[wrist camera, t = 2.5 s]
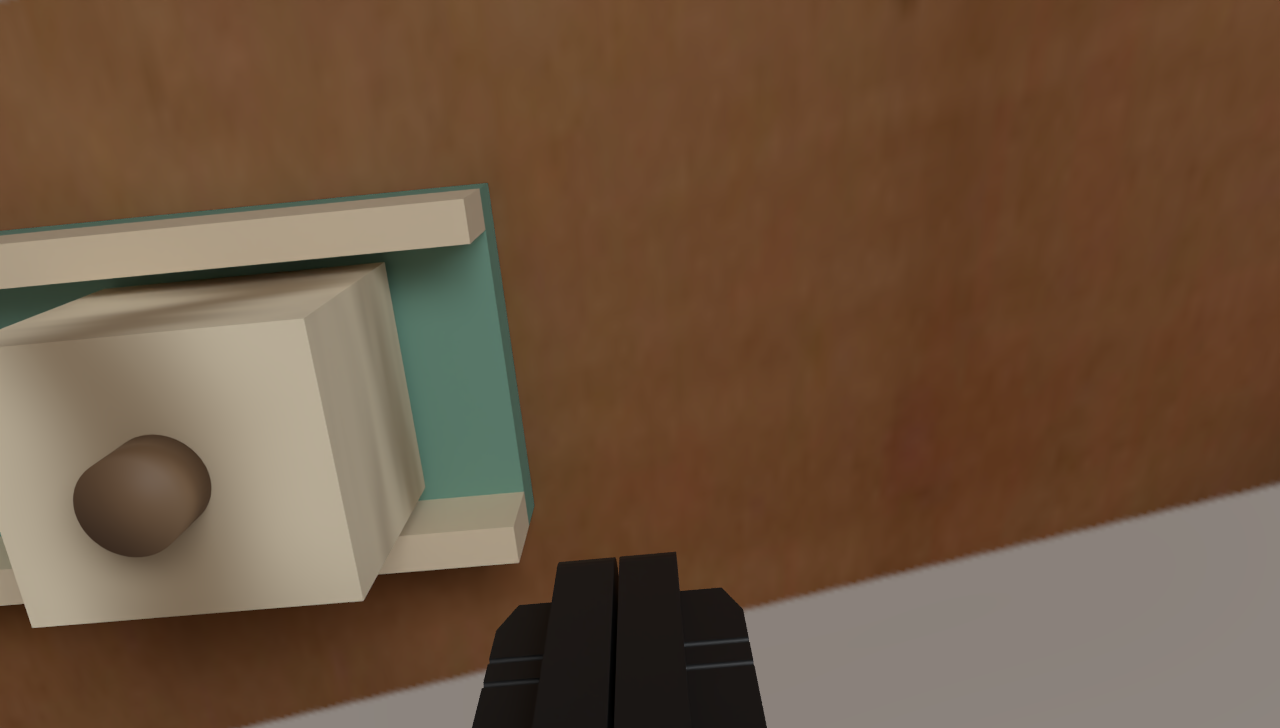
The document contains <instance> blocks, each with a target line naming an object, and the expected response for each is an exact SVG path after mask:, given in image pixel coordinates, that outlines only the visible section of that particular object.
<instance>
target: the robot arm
mask: <svg viewBox="0 0 1280 728" xmlns="http://www.w3.org/2000/svg"><path fill="white" fill-rule="evenodd" d="M489 661H490V664H488V666H487V670H486V674H485V678H484V688H482V691H481V694H480V698H479V702H478V706H477V710H476V714H475V718H474V722H473V726H472V728H767V726H766V721H765V716H764V711H763V706H762V701H761V696H760V691H759V686H758V681H757V676H756V671H755V666H754V664H753V657H752V652H751V647H750V642H749V638H748V632H747V627H746V622H745V617H744V612H743V609H742V608H741V607H740V606H739V605H738V604H737V603H736V602H735V601H734V600H733V599H732V598H731V597H730V596H729V595H728V594H727V593H726V592H725V591H724V590H723V589H722V588H711V589H699V590H688V591H680V589H679V578H678V567H677V557H676V552H668V553H657V554H645V555H634V556H622V557H620V560H619V574H618V567H617V561H616V558H615V557H613V558H602V559H590V560H579V561H567V562H559V563H558V566H557V572H556V578H555V585H554V591H553V597H552V602H551V603H540V604H528V605H519V606H518V607H517V608H516V609H515V610H514V611H513V613H512V614H511V615H510V616H509V617H508V618H507V619H506V620H505V622H504V623H503V624H502V625H501V626H500V627H499V628H498V629H497V631H496V634H495V638H494V642H493V646H492V650H491V654H490V658H489Z"/></svg>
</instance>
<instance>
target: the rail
mask: <svg viewBox="0 0 1280 728" xmlns="http://www.w3.org/2000/svg"><path fill="white" fill-rule="evenodd" d="M379 262H385V267H386V272H387V278H388V284H389V289H390V295H391V300H392V306H393V311H394V317H395V322H396V328H397V333H398V339H399V344H400V350H401V355H402V361H403V366H404V372H405V377H406V383H407V388H408V394H409V399H410V405H411V410H412V416H413V421H414V427H415V432H416V438H417V443H418V449H419V454H420V460H421V465H422V471H423V476H424V482H425V489H424V491H423V493H422V495H421V496H420V498H419V500H418V502H417V504H416V506H415V507H414V509H413V511H412V513H411V515H410V517H409V518H408V520H407V522H406V524H405V526H404V528H403V529H402V531H401V533H400V535H399V537H398V539H397V540H396V542H395V544H394V546H393V548H392V550H391V551H390V553H389V555H388V557H387V559H386V561H385V562H384V564H383V566H382V568H381V570H380V572H379V573H378V574H390V573H402V572H414V571H426V570H438V569H451V568H463V567H475V566H487V565H499V564H511V563H519V561H520V557H521V554H522V550H523V546H524V543H525V539H526V535H527V531H528V528H529V524H530V520H531V516H532V513H533V509H534V500H533V493H532V486H531V479H530V472H529V465H528V458H527V451H526V445H525V438H524V431H523V424H522V417H521V410H520V403H519V396H518V389H517V382H516V375H515V368H514V361H513V355H512V348H511V341H510V334H509V327H508V320H507V313H506V306H505V299H504V292H503V285H502V278H501V271H500V265H499V258H498V251H497V244H496V237H495V230H494V223H493V216H492V209H491V202H490V195H489V188H488V183H482V184H472V185H462V186H452V187H441V188H431V189H421V190H411V191H401V192H391V193H381V194H370V195H360V196H350V197H340V198H330V199H320V200H310V201H299V202H289V203H279V204H269V205H259V206H249V207H239V208H228V209H218V210H208V211H198V212H188V213H178V214H168V215H157V216H147V217H137V218H127V219H117V220H107V221H97V222H86V223H76V224H66V225H56V226H46V227H36V228H26V229H15V230H5V231H0V329H2V328H5V327H7V326H10V325H12V324H15V323H17V322H20V321H23V320H25V319H28V318H30V317H33V316H35V315H38V314H41V313H43V312H46V311H48V310H51V309H53V308H56V307H59V306H61V305H64V304H66V303H69V302H71V301H74V300H77V299H79V298H82V297H84V296H87V295H90V294H92V293H95V292H97V291H100V290H102V289H108V288H118V287H129V286H139V285H150V284H160V283H171V282H181V281H191V280H202V279H212V278H223V277H233V276H244V275H254V274H265V273H275V272H285V271H296V270H306V269H317V268H327V267H338V266H348V265H359V264H369V263H379ZM16 604H24V602H23V599H22V596H21V593H20V590H19V587H18V584H17V581H16V578H15V575H14V572H13V569H12V566H11V563H10V560H9V557H8V554H7V551H6V548H5V545H4V542H3V539H2V536H1V533H0V606H4V605H16Z"/></svg>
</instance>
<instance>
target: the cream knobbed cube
mask: <svg viewBox="0 0 1280 728" xmlns="http://www.w3.org/2000/svg"><path fill="white" fill-rule="evenodd" d="M424 489H425V482H424V476H423V471H422V465H421V460H420V454H419V449H418V443H417V438H416V432H415V427H414V421H413V416H412V410H411V405H410V399H409V394H408V388H407V383H406V377H405V372H404V366H403V361H402V355H401V350H400V344H399V339H398V333H397V328H396V322H395V317H394V311H393V306H392V300H391V295H390V289H389V284H388V278H387V272H386V267H385V262H379V263H369V264H359V265H348V266H338V267H327V268H317V269H306V270H296V271H285V272H275V273H265V274H254V275H244V276H233V277H223V278H212V279H202V280H191V281H181V282H171V283H160V284H150V285H139V286H129V287H118V288H108V289H102V290H100V291H97V292H95V293H92V294H90V295H87V296H84V297H82V298H79V299H77V300H74V301H71V302H69V303H66V304H64V305H61V306H59V307H56V308H53V309H51V310H48V311H46V312H43V313H41V314H38V315H35V316H33V317H30V318H28V319H25V320H23V321H20V322H17V323H15V324H12V325H10V326H7V327H5V328H2V329H0V533H1V536H2V539H3V542H4V545H5V548H6V551H7V554H8V557H9V560H10V563H11V566H12V569H13V572H14V575H15V578H16V581H17V584H18V587H19V590H20V593H21V596H22V599H23V602H24V605H25V608H26V611H27V614H28V617H29V620H30V623H31V626H32V628H38V627H50V626H62V625H75V624H87V623H99V622H111V621H124V620H136V619H148V618H160V617H172V616H185V615H197V614H209V613H221V612H234V611H246V610H258V609H270V608H282V607H295V606H307V605H319V604H331V603H344V602H356V601H364V599H365V597H366V595H367V594H368V592H369V590H370V588H371V586H372V584H373V583H374V581H375V579H376V577H377V575H378V573H379V572H380V570H381V568H382V566H383V564H384V562H385V561H386V559H387V557H388V555H389V553H390V551H391V550H392V548H393V546H394V544H395V542H396V540H397V539H398V537H399V535H400V533H401V531H402V529H403V528H404V526H405V524H406V522H407V520H408V518H409V517H410V515H411V513H412V511H413V509H414V507H415V506H416V504H417V502H418V500H419V498H420V496H421V495H422V493H423V491H424Z"/></svg>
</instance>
